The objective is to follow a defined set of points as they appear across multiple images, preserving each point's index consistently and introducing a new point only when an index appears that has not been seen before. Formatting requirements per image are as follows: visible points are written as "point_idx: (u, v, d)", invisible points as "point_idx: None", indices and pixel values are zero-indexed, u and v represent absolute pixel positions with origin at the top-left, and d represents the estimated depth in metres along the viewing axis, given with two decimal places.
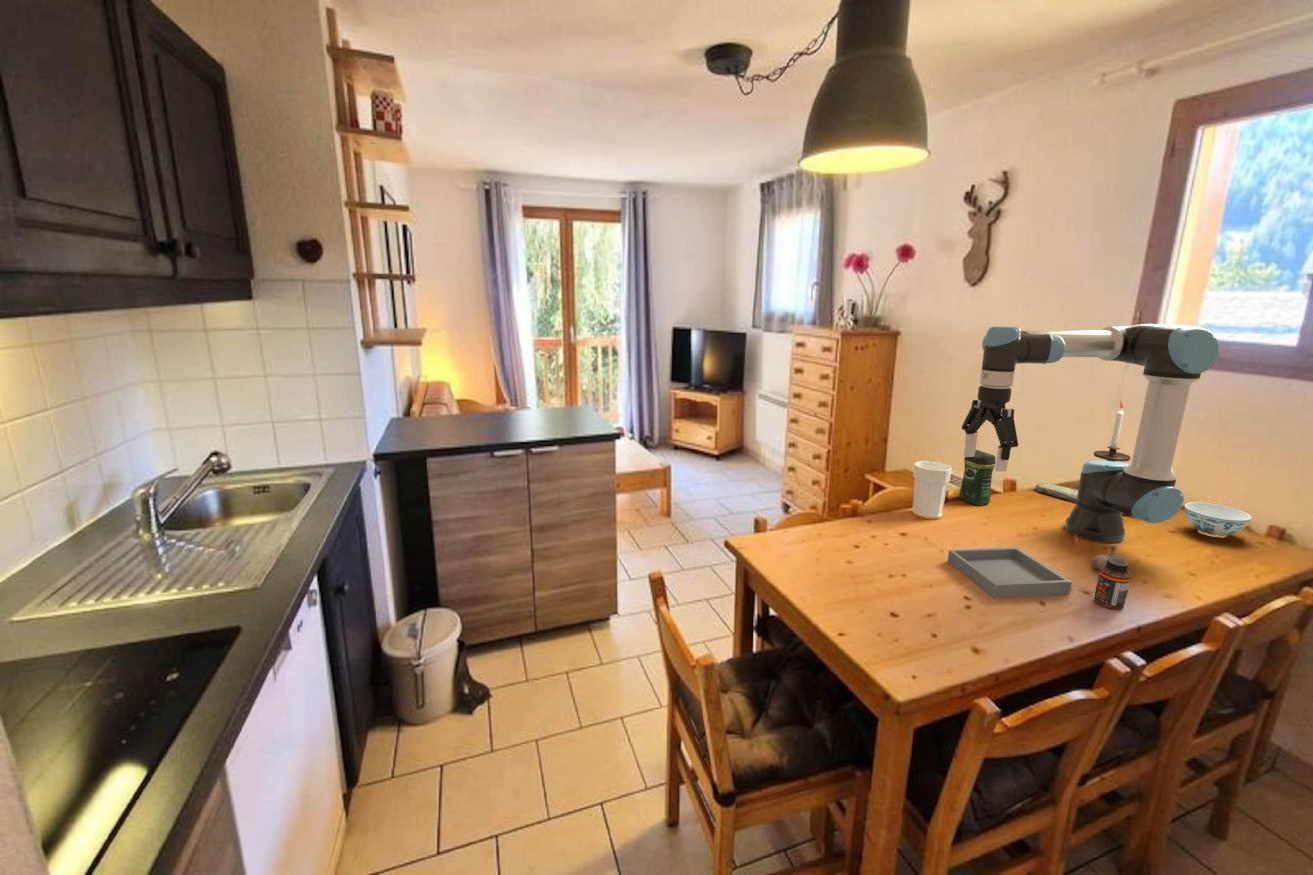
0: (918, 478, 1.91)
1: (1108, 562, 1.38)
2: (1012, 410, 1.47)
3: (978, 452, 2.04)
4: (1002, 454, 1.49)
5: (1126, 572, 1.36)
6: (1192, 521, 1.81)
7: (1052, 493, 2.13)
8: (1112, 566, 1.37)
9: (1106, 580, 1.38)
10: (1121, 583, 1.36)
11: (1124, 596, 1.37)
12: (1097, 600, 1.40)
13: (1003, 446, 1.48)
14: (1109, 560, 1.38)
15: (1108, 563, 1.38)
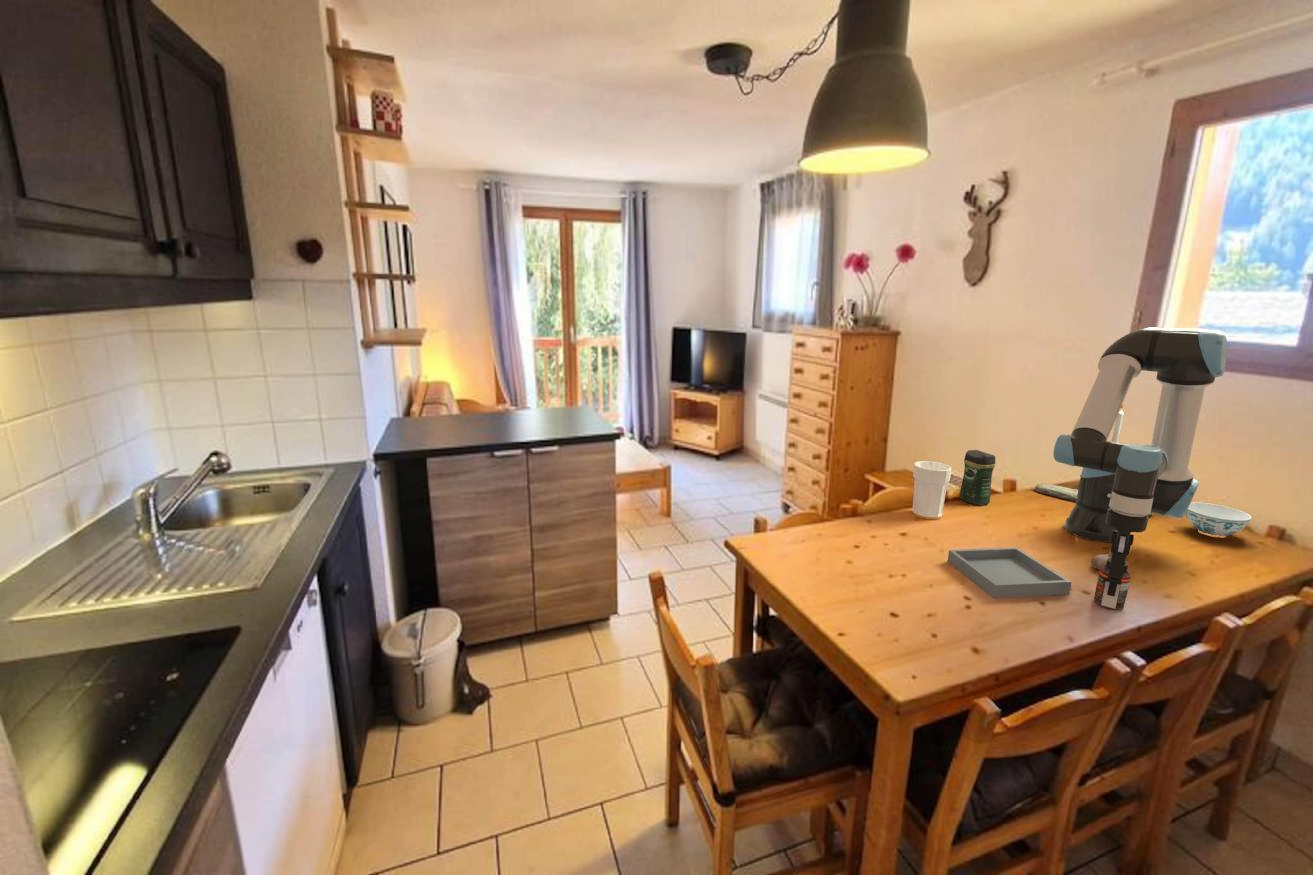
0: (918, 478, 1.91)
1: (1108, 562, 1.38)
2: (1125, 547, 1.31)
3: (978, 452, 2.04)
4: (1108, 588, 1.36)
5: (1126, 572, 1.36)
6: (1192, 521, 1.81)
7: (1054, 494, 2.13)
8: None
9: None
10: None
11: (1124, 596, 1.37)
12: (1097, 600, 1.40)
13: (1106, 580, 1.36)
14: (1109, 560, 1.38)
15: (1108, 563, 1.38)
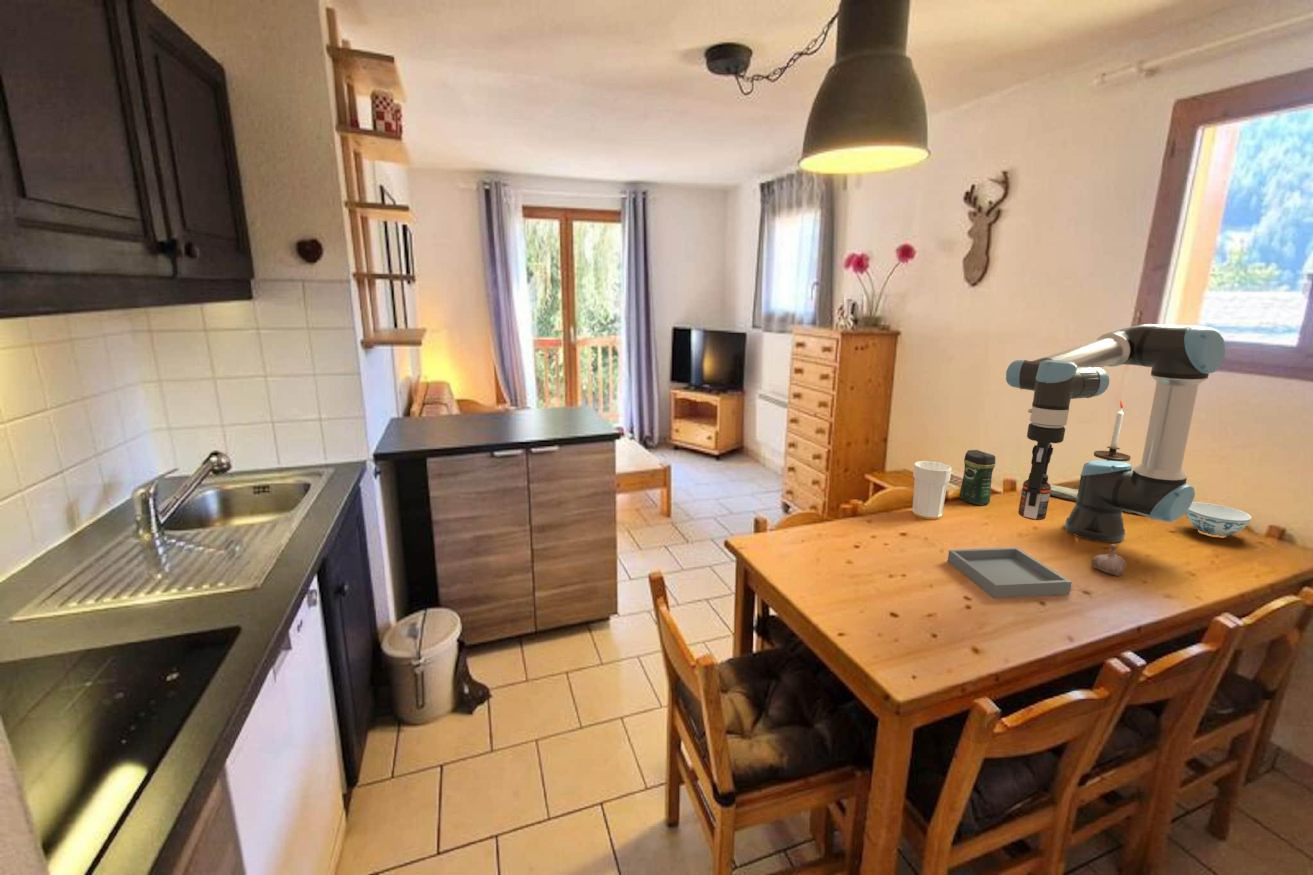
0: (918, 478, 1.91)
1: None
2: (1043, 456, 1.37)
3: (978, 452, 2.04)
4: (1029, 499, 1.43)
5: (1046, 483, 1.43)
6: (1192, 521, 1.81)
7: (1055, 494, 2.13)
8: None
9: None
10: (1041, 493, 1.42)
11: (1045, 507, 1.44)
12: (1020, 513, 1.47)
13: (1027, 491, 1.42)
14: None
15: None
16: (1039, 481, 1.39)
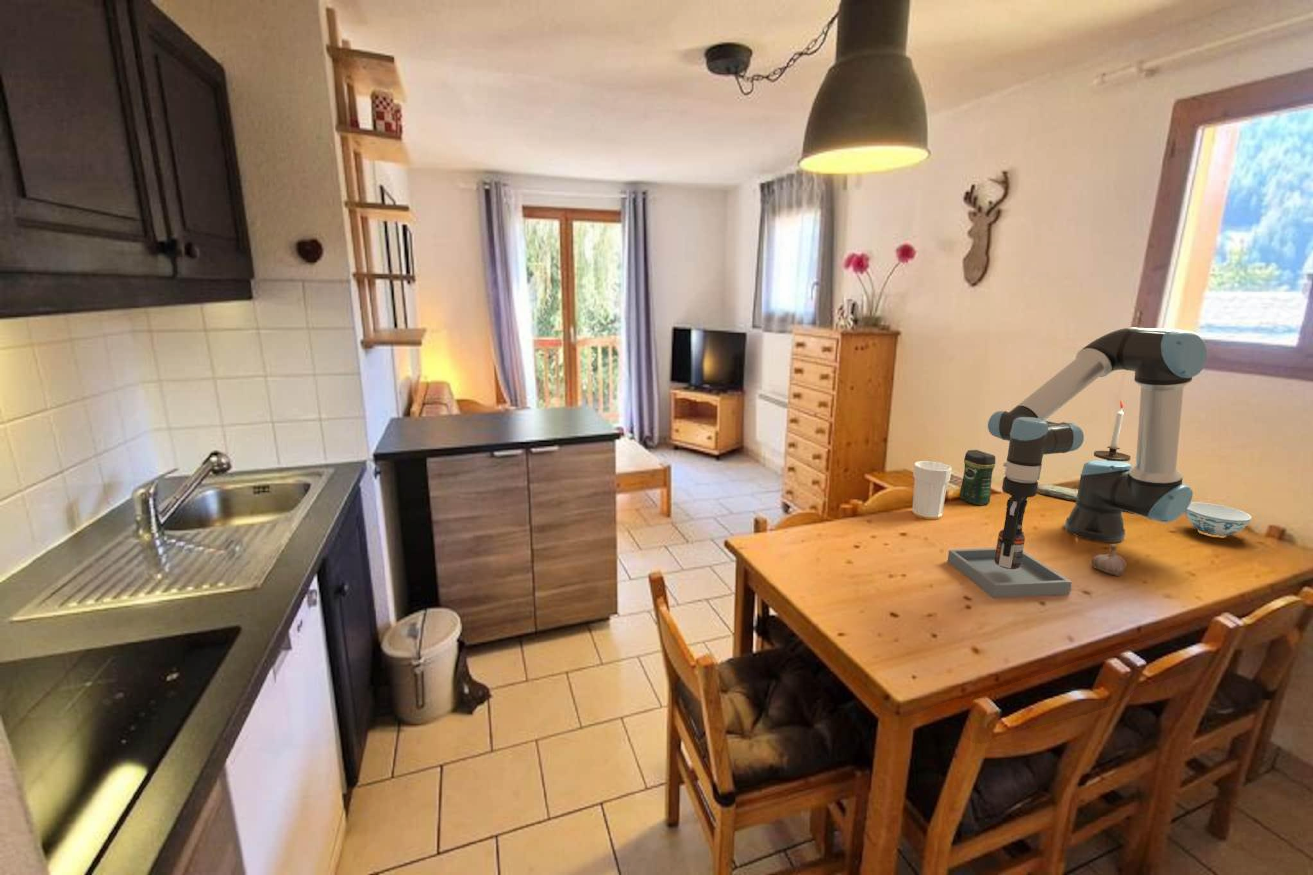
0: (918, 478, 1.91)
1: None
2: (1015, 510, 1.43)
3: (978, 452, 2.04)
4: (1003, 549, 1.49)
5: (1020, 534, 1.49)
6: (1192, 521, 1.81)
7: (1056, 494, 2.12)
8: None
9: None
10: (1015, 544, 1.48)
11: (1019, 557, 1.49)
12: (996, 561, 1.52)
13: None
14: None
15: None
16: (1012, 533, 1.45)
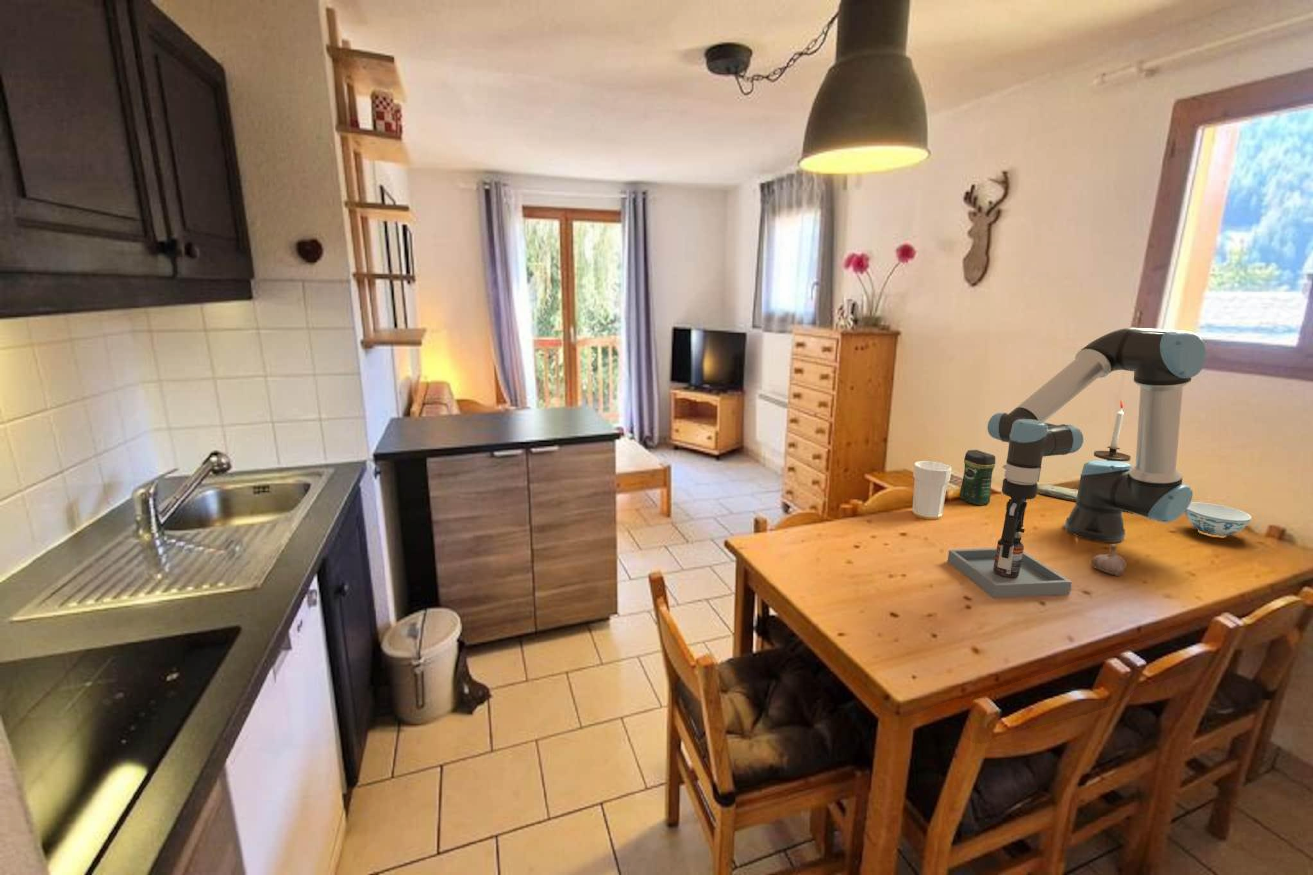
0: (918, 478, 1.91)
1: None
2: (1015, 510, 1.43)
3: (978, 452, 2.04)
4: None
5: (1019, 543, 1.49)
6: (1192, 521, 1.81)
7: (1056, 495, 2.12)
8: None
9: None
10: (1014, 553, 1.49)
11: (1018, 565, 1.50)
12: (995, 570, 1.53)
13: (1000, 543, 1.47)
14: None
15: None
16: (1011, 534, 1.44)
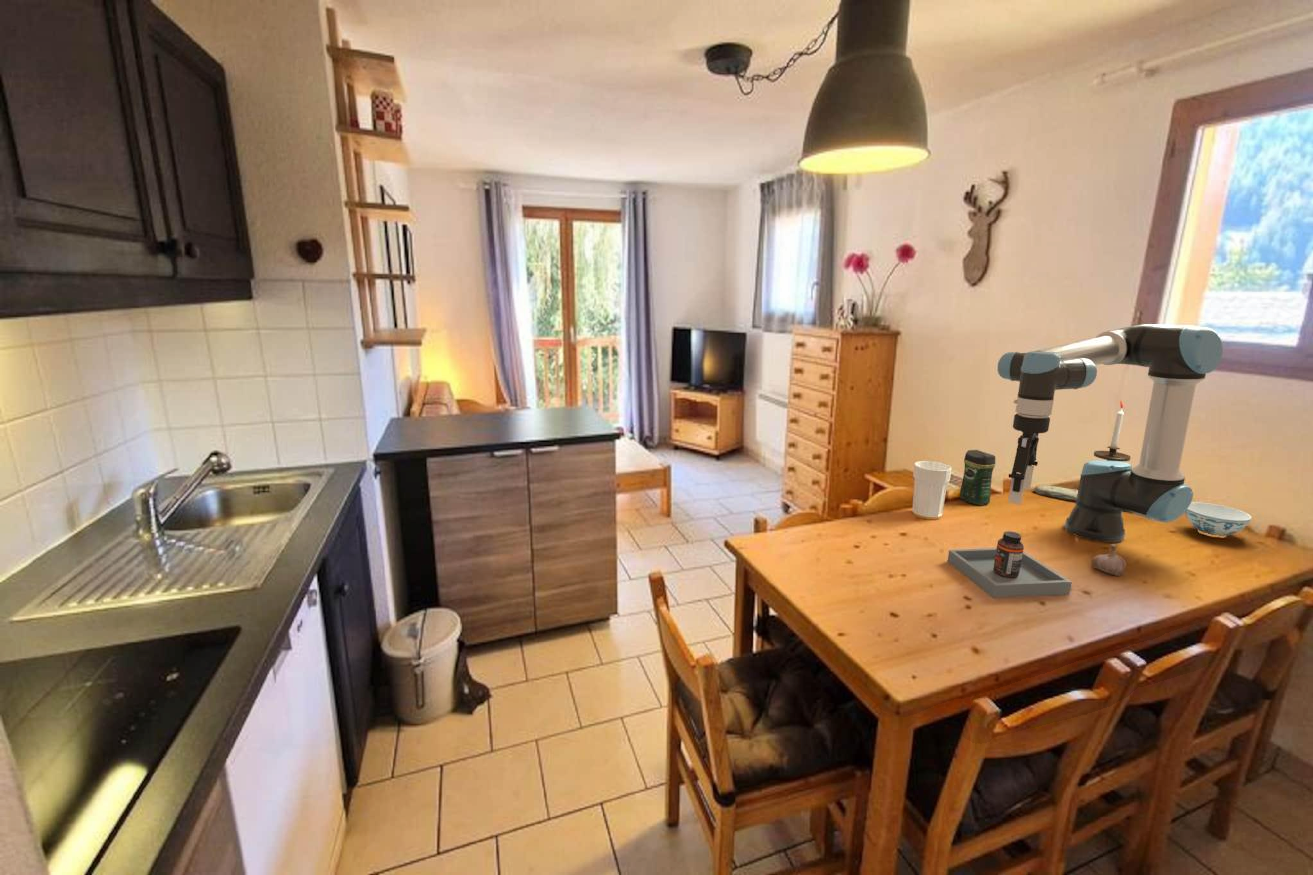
0: (918, 478, 1.91)
1: (1004, 534, 1.51)
2: (1028, 440, 1.39)
3: (978, 452, 2.04)
4: None
5: (1019, 543, 1.49)
6: (1192, 521, 1.81)
7: (1056, 495, 2.11)
8: (1007, 538, 1.50)
9: (1001, 551, 1.51)
10: (1014, 553, 1.49)
11: (1017, 565, 1.50)
12: (995, 570, 1.53)
13: (1011, 476, 1.41)
14: (1005, 533, 1.51)
15: (1004, 535, 1.51)
16: (1023, 465, 1.39)
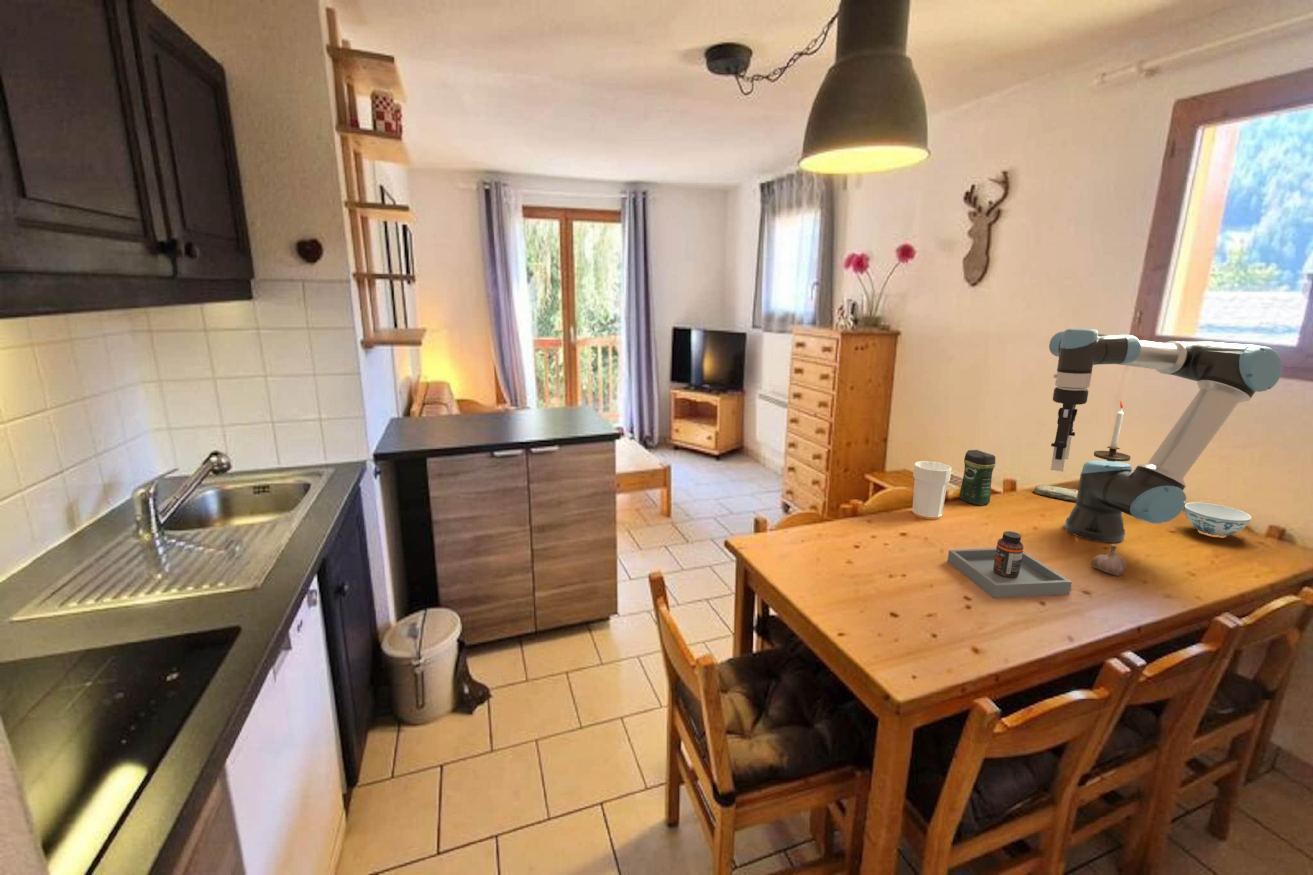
0: (918, 478, 1.91)
1: (1003, 534, 1.51)
2: (1069, 411, 1.50)
3: (978, 452, 2.04)
4: (1056, 453, 1.53)
5: (1019, 543, 1.49)
6: (1192, 521, 1.81)
7: (1056, 495, 2.11)
8: (1006, 538, 1.50)
9: (1001, 551, 1.51)
10: (1013, 553, 1.49)
11: (1017, 565, 1.50)
12: (995, 570, 1.53)
13: (1054, 445, 1.52)
14: (1004, 533, 1.51)
15: (1003, 535, 1.51)
16: (1066, 434, 1.49)
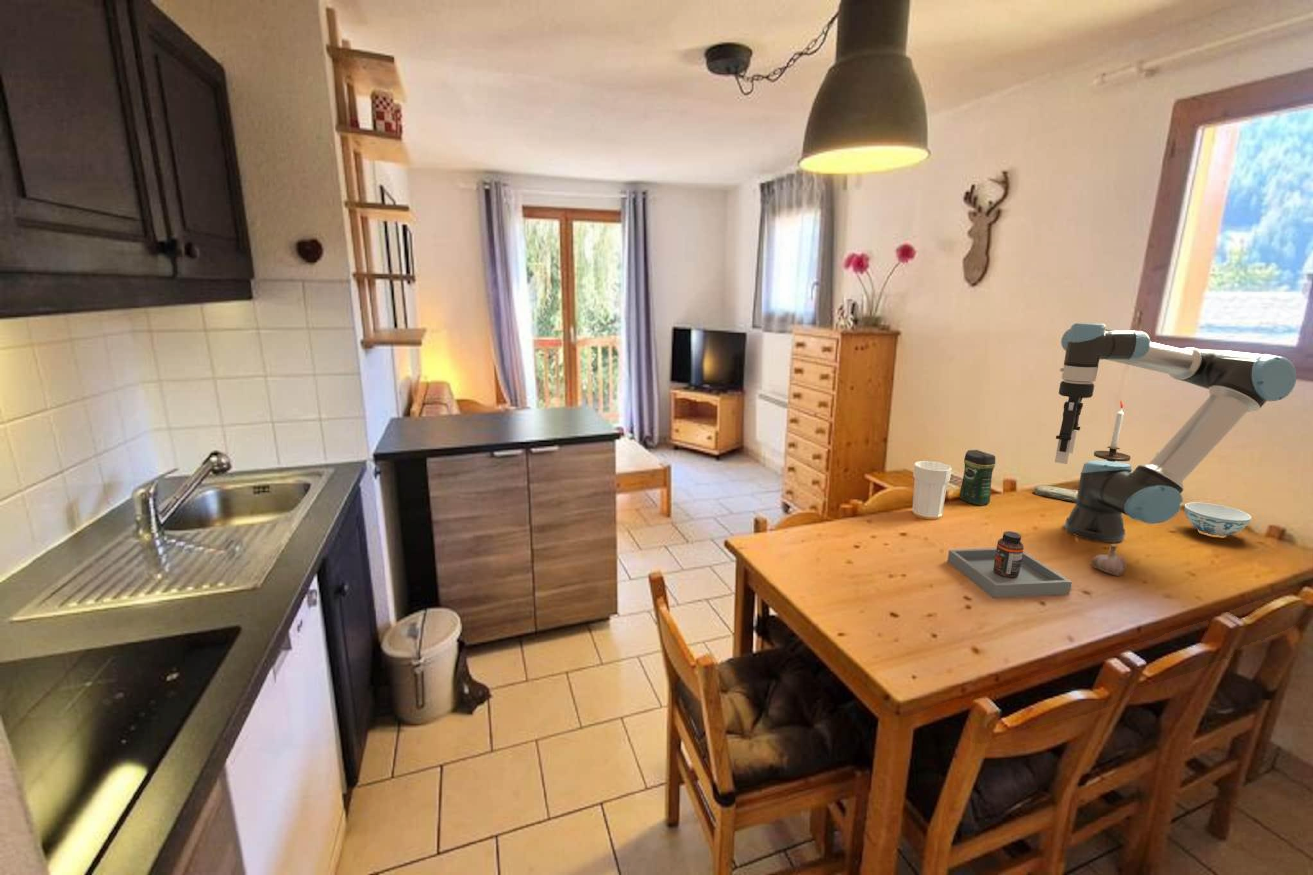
0: (918, 478, 1.91)
1: (1004, 534, 1.51)
2: (1075, 404, 1.52)
3: (978, 452, 2.04)
4: (1060, 446, 1.55)
5: (1019, 543, 1.49)
6: (1192, 521, 1.81)
7: (1056, 496, 2.11)
8: (1007, 538, 1.50)
9: (1001, 551, 1.51)
10: (1013, 553, 1.49)
11: (1017, 565, 1.50)
12: (995, 570, 1.53)
13: (1059, 437, 1.54)
14: (1005, 533, 1.51)
15: (1004, 535, 1.51)
16: (1070, 427, 1.51)
